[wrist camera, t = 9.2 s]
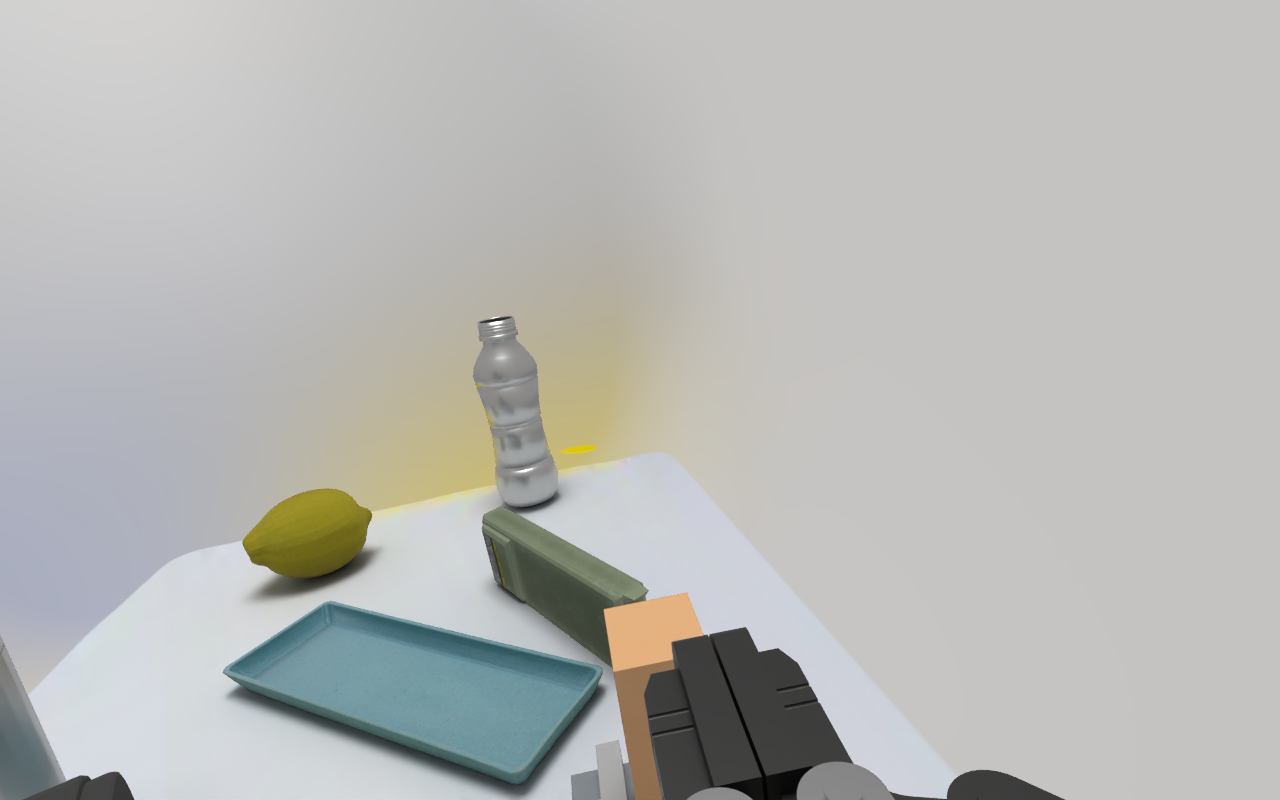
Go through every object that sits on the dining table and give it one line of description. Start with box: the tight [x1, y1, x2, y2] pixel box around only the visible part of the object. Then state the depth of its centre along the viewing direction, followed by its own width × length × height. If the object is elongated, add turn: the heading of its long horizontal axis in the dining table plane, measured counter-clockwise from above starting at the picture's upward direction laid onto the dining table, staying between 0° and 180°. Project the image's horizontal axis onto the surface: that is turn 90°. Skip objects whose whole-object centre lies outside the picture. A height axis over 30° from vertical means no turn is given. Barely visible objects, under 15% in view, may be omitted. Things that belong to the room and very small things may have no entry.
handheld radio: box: [482, 506, 649, 668], centre depth 49 cm, size 7×3×25 cm
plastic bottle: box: [473, 316, 558, 507], centre depth 72 cm, size 6×7×20 cm
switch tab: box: [604, 593, 703, 800], centre depth 30 cm, size 5×4×10 cm
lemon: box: [242, 489, 372, 578], centre depth 64 cm, size 11×8×8 cm
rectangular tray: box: [223, 601, 603, 785], centre depth 46 cm, size 26×9×2 cm, turn 63°
